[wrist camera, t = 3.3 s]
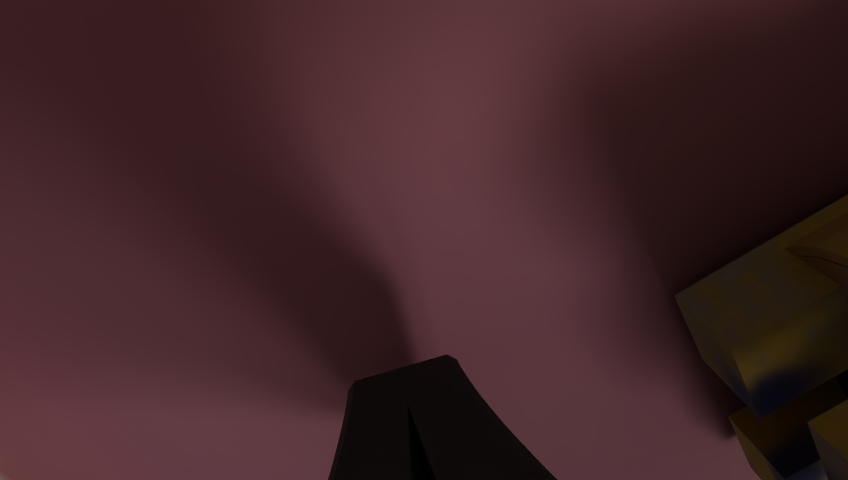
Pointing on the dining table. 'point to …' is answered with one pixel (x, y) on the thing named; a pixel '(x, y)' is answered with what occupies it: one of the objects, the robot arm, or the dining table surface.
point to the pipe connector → (783, 346)
